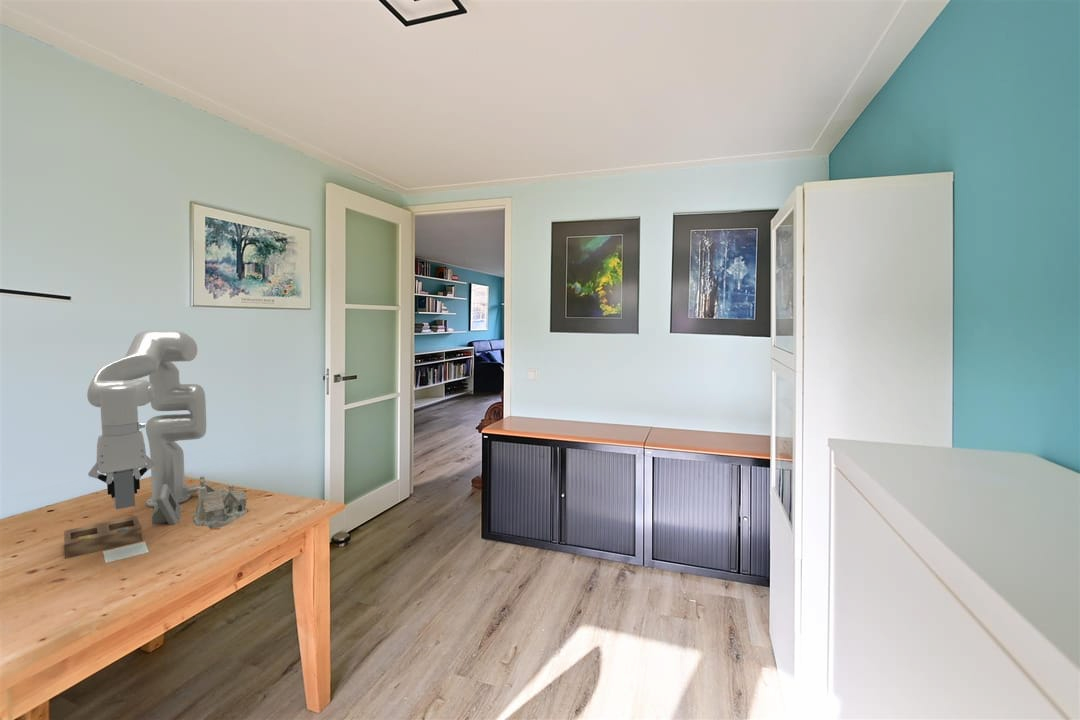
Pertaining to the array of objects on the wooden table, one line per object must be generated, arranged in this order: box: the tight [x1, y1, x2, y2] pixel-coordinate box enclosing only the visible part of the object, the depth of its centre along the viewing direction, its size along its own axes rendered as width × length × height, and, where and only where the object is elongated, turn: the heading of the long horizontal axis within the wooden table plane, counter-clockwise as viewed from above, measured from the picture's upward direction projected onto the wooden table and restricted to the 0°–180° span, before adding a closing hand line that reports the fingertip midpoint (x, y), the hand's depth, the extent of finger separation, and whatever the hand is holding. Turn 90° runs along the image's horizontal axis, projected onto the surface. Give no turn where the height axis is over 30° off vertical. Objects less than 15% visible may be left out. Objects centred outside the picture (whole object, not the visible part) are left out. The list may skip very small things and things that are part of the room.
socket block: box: [63, 515, 143, 559], centre depth 139 cm, size 16×12×5 cm
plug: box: [113, 469, 136, 510], centre depth 132 cm, size 4×4×10 cm
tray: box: [102, 541, 149, 564], centre depth 133 cm, size 9×9×1 cm
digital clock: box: [151, 484, 182, 526], centre depth 157 cm, size 16×9×11 cm, turn 24°
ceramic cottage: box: [192, 475, 248, 530], centre depth 159 cm, size 16×16×15 cm
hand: (124, 493), depth 132 cm, fingers closed on plug, 4 cm apart
